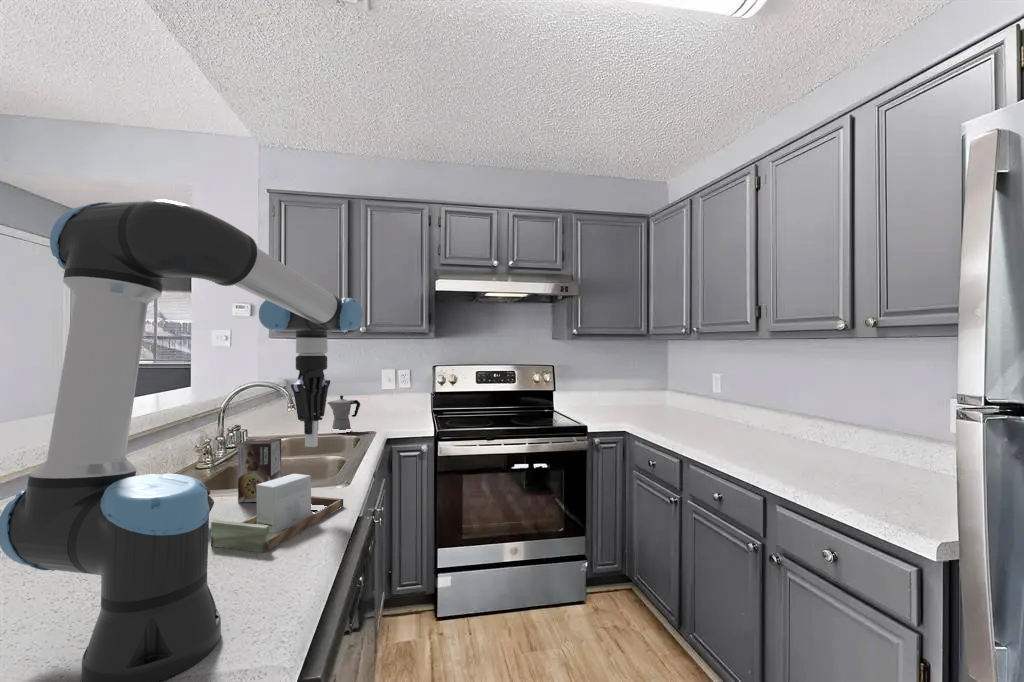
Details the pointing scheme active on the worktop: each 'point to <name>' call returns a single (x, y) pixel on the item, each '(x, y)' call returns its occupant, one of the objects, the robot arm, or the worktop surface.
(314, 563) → the worktop surface
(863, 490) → the worktop surface
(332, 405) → the coffeepot
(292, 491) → the skincare box
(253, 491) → the coffee box
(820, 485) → the worktop surface
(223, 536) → the track
